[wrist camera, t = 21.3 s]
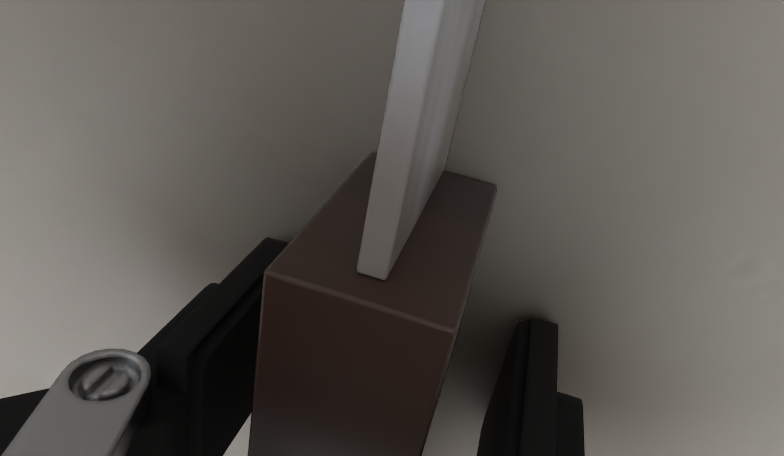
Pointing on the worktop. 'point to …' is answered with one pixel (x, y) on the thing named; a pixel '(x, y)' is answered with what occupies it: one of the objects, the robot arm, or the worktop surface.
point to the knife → (378, 270)
